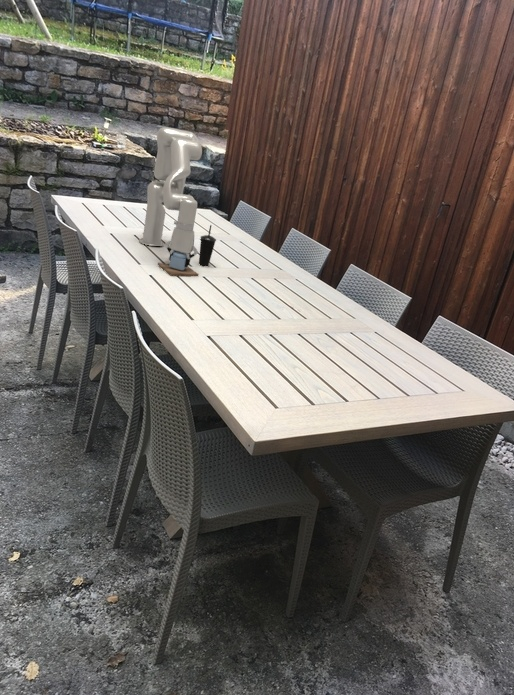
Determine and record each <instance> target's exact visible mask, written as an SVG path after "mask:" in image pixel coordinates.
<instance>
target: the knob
mask: <svg viewBox="0 0 514 695" xmlns="http://www.w3.org/2000/svg"><path fill="white" fill-rule="evenodd" d="M186 259H187V255H186V253H182V252H179V251H173V255H172V256H171V259H170V260H169V264H170V265H169V267H172V268H176V269H180V270H184V269H186V268H187V267H189V266H187V267H185V262H186Z"/></svg>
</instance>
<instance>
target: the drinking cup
mask: <svg viewBox="0 0 514 695" xmlns="http://www.w3.org/2000/svg"><path fill="white" fill-rule="evenodd" d="M208 230H209V231H208V235H207V234H204V235H201V236H200V246H199V259H198V265H199V264H200V265H199V266H201V265H202V266H201V267H204V266H208V267H209V265H210V263H211V258H212V254H213V251H214V248H215V244H216V242H217V239H216V238H215V237H214V236H212V235H211V230H212V225H211V224H210V226H209V229H208Z"/></svg>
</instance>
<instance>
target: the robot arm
mask: <svg viewBox="0 0 514 695" xmlns="http://www.w3.org/2000/svg"><path fill="white" fill-rule="evenodd" d="M156 143H157V154H156V159H155V163H154V169H153V175H154V178H155V179H157V180H159V181H152V182H149V184H148V185H147V189H146V190H147V192H146V194H147V202H146V210H145V211H146V212H145V213H146V214H145V217H144V218H145V219H144V226H143V227H144V228H143V232H142V237H140V238H139V240H138V241H140V242H139V243H140V244H141V243H142V245H144V244H145V245H144V246H147V245H149V246H148V247H151V246H162V247H164V246H165V248H166V250H167V252H168V255H169V259H168V261H170V259H171V256H172V255H173V251H179V252H182V253H186V255H187V259H186V262H185V267H187V266H188V267H189V266H190V262H191V259H192V258H193V257H195V256H196V255H197V254H199V251H198V249H197V248H196V247H195V231H194V228H195V227H194V226H195V221H196V214H197V211H198V210H197V209H198V201H197V200H195V198H194V197H193V196H192V195H191V194H184V193H183V192H184V188H185V183H186V179H187V177H188V176H190V174H191V172H192V171H191V161H199V160H200V159H201V158H202V155H203V149H202V148H203V147H202V144H201V141H200V140H199V139H198V137H197V135H196V134H195V133H194V132H192V131H189V130H183V129H180V128H173V127H169V126H168V127H167V126H166V127H164V126H163V127H160V128H159V129H158V131H157V135H156ZM162 181H163V182H162ZM166 209H167V210H170V211H176V212H177V211H178V215H177V220H176V221H174V222H173V225H175V227H174V228H173V231H172V235H171V238H170V240H169V241H168V242H166V243H164V241H162V239H163V238H162V237H163V232H164V226H165V219H166V218H165V217H166ZM163 245H164V246H163ZM192 252H193V253H192Z"/></svg>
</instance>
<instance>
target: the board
mask: <svg viewBox="0 0 514 695" xmlns="http://www.w3.org/2000/svg"><path fill="white" fill-rule="evenodd" d="M158 265H159V266H160V267H161V268H162V269H163V270H162V269H161V268H160V267H159V266H158ZM169 265H170V263H169V262H168V263H165V262H164V263H161V262H158V263H157V266H158V267H159V268H160V269H161V270H162V271H164V270H165V271H166V272H167V273H168V274H167V273H166V272H165V271H164V272H165V273H166V274H167V275H168V276H170V277H191V276H198V277H199V273H198V272H197V271H195V270H194V269H193V268H191V267H189V266H188V267H187V268H186V269H184V270H177V269H174V268H172V267H169Z"/></svg>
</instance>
